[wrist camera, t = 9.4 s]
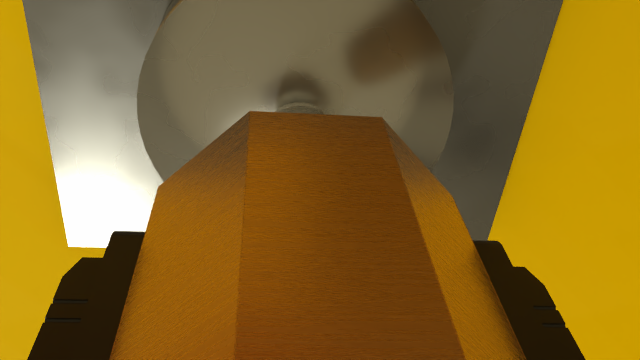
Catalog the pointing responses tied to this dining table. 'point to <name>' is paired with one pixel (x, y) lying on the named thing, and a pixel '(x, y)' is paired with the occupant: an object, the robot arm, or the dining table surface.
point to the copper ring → (309, 253)
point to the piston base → (126, 173)
